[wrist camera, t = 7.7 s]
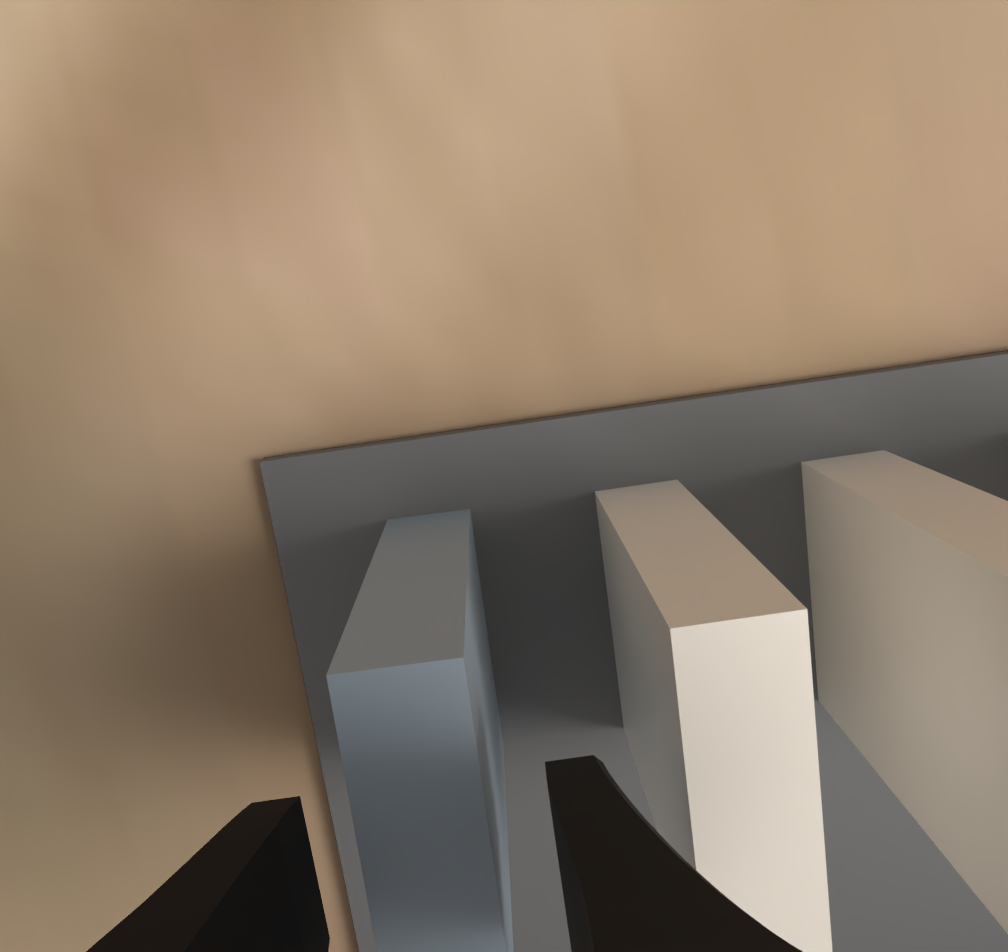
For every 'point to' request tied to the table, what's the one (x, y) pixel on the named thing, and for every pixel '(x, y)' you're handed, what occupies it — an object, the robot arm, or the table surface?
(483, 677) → the end tile
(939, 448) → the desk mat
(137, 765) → the table surface
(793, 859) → the tile
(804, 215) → the table surface
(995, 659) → the tile
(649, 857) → the robot arm
